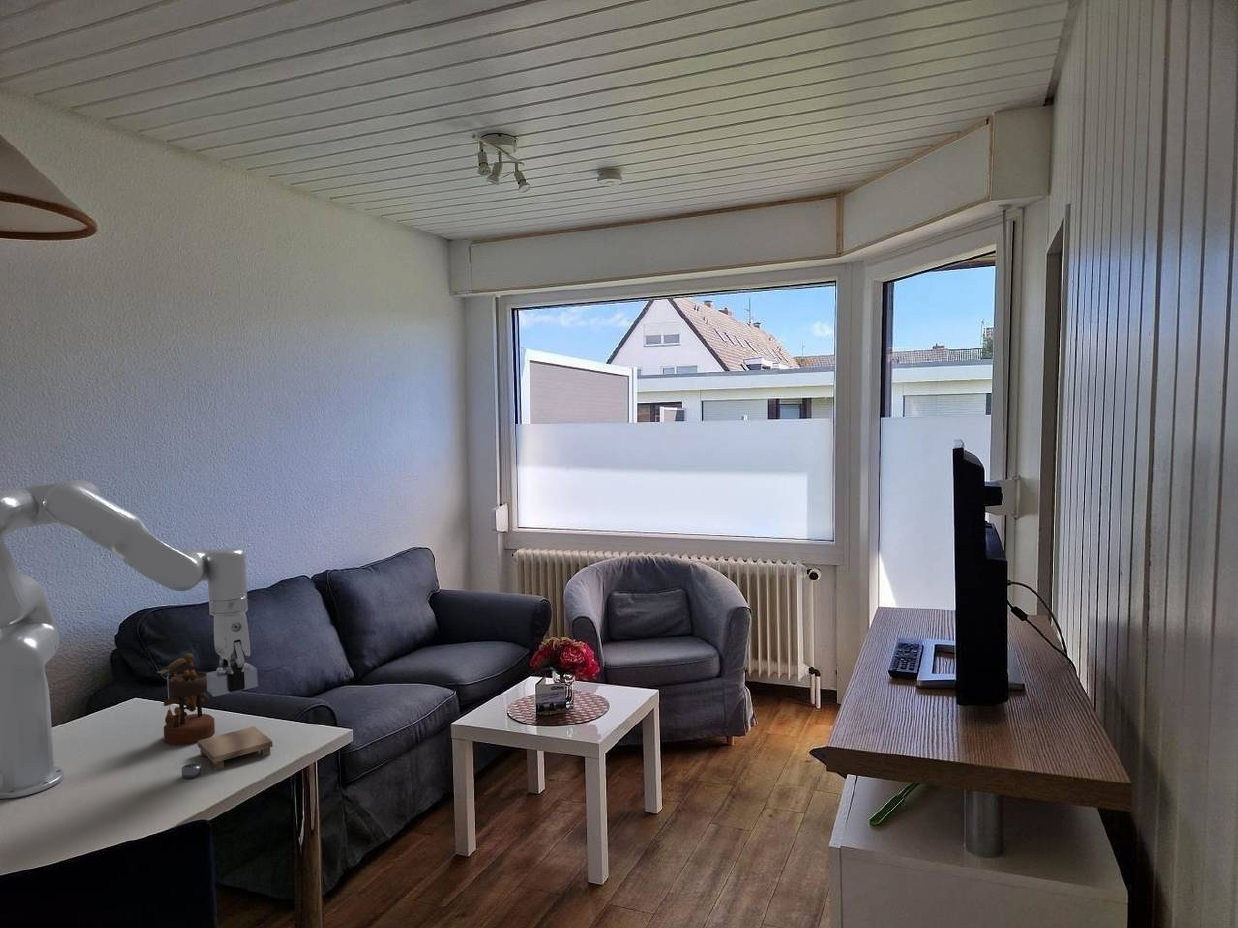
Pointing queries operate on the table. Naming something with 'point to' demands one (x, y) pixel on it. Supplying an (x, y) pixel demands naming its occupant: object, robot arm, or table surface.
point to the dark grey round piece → (191, 771)
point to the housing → (219, 679)
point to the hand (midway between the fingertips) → (232, 686)
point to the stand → (234, 745)
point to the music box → (186, 685)
